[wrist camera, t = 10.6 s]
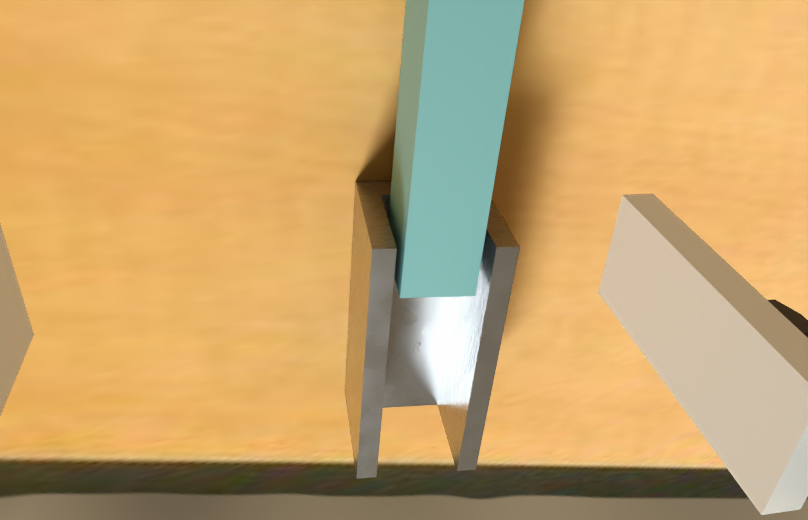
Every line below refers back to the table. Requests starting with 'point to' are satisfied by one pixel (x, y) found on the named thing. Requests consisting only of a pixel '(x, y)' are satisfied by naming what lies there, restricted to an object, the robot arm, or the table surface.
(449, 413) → the sleeve
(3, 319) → the robot arm
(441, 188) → the bar
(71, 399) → the table surface
